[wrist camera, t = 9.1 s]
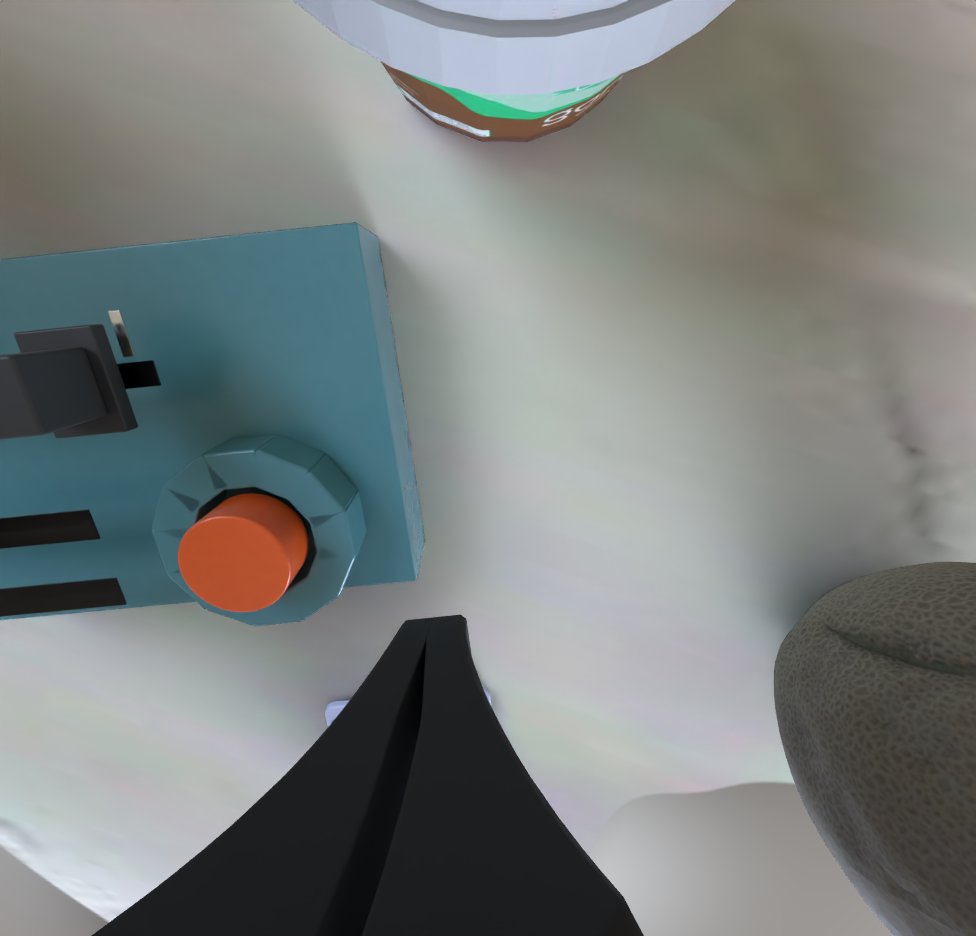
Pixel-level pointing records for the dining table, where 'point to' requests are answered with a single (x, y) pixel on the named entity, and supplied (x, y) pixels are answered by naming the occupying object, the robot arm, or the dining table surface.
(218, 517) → the button
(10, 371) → the slider
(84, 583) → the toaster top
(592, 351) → the dining table surface
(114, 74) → the dining table surface
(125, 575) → the teal control box
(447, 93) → the food container
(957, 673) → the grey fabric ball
